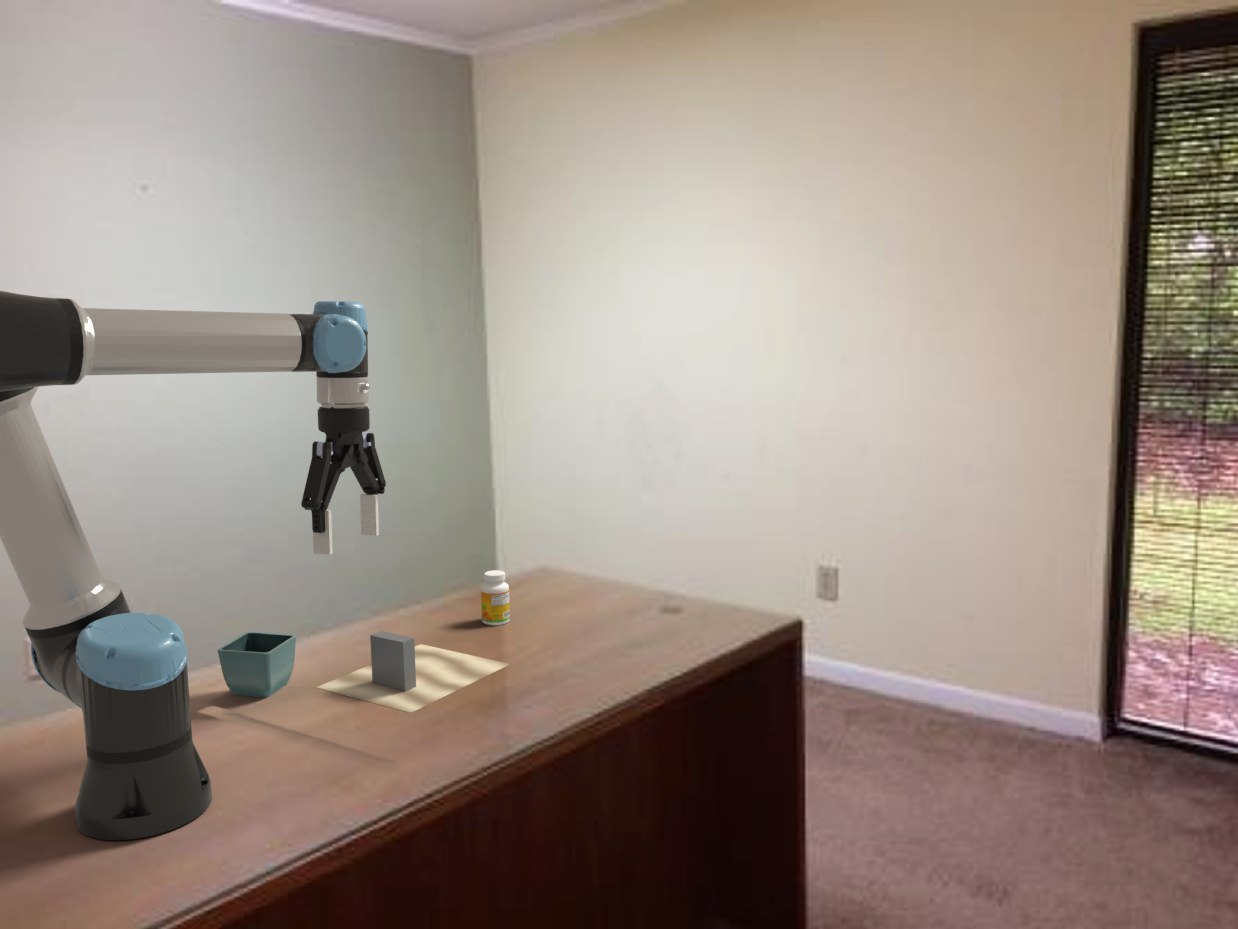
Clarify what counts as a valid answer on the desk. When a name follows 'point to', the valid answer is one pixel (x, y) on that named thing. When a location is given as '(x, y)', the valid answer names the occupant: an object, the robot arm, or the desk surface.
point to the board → (418, 679)
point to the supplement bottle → (495, 598)
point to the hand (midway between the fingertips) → (347, 544)
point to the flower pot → (258, 663)
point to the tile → (393, 661)
